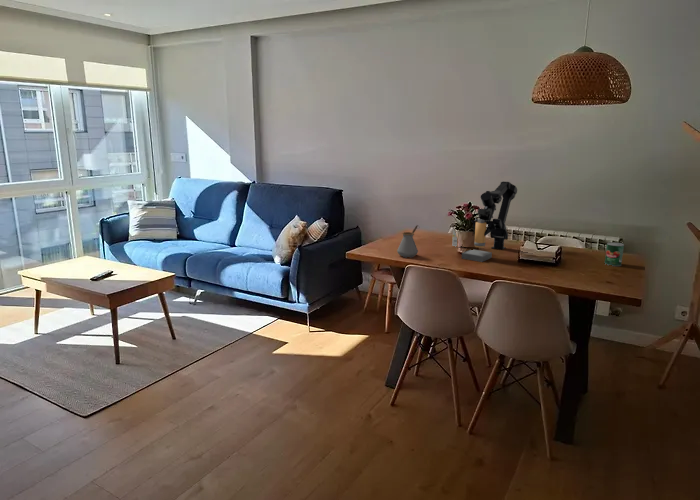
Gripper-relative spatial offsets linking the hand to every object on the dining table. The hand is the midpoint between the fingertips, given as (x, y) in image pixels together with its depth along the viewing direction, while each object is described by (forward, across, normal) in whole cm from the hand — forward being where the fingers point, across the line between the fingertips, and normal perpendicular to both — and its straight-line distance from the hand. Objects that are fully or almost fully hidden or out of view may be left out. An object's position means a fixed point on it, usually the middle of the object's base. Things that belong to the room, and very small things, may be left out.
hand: (479, 234), depth 267 cm
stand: (+8, -1, +10) cm, 14 cm away
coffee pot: (+18, -35, +1) cm, 39 cm away
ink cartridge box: (-6, -20, +26) cm, 33 cm away
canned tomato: (-13, +61, +32) cm, 70 cm away
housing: (+4, 0, +6) cm, 7 cm away
